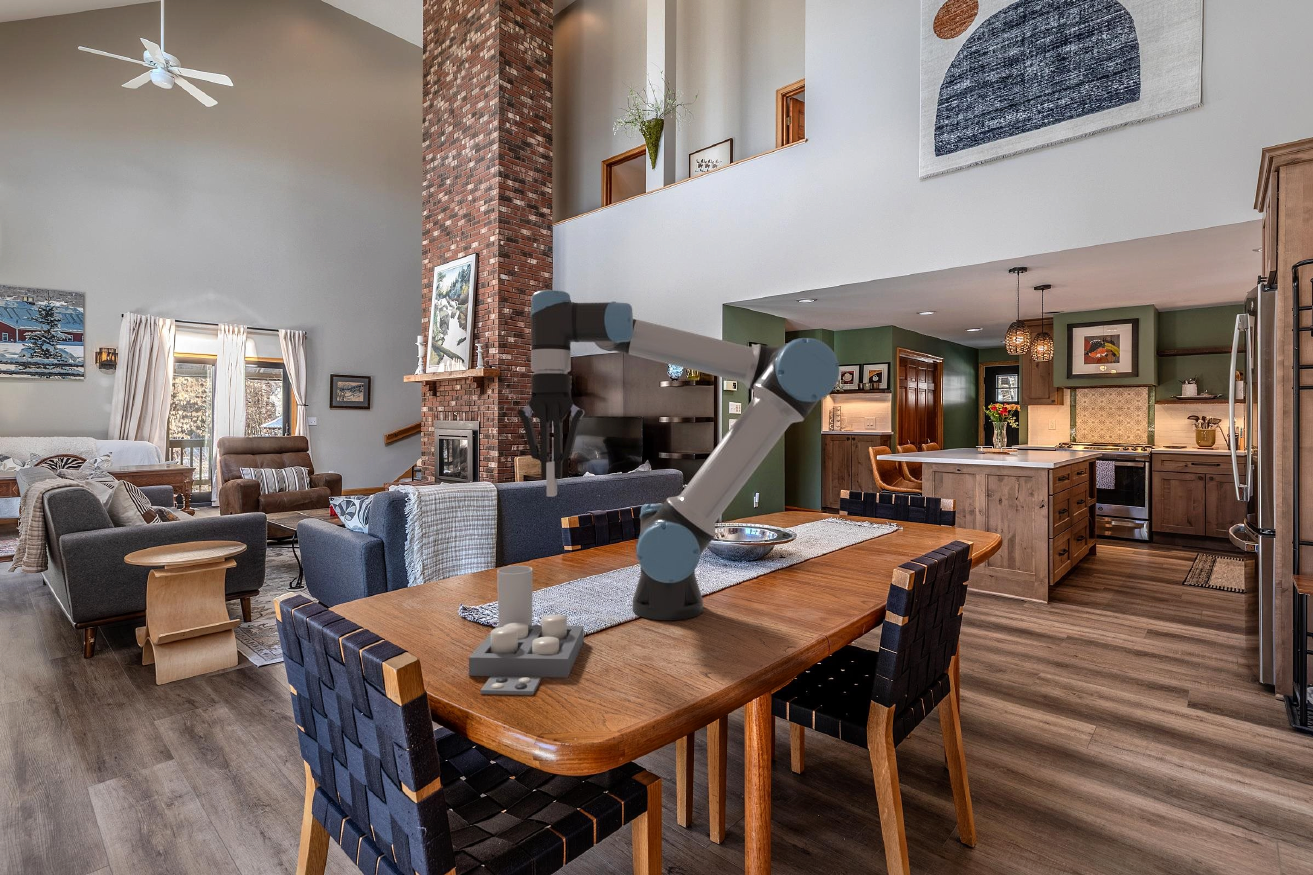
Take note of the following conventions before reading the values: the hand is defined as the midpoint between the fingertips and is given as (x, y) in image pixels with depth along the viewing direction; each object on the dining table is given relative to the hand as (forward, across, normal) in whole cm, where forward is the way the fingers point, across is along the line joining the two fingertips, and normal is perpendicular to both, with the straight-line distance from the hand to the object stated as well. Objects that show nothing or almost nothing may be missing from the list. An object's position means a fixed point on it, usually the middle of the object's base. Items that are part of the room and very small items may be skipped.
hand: (551, 495), depth 123 cm
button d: (+24, +5, +17) cm, 30 cm away
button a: (+24, -3, +11) cm, 27 cm away
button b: (+26, +4, +11) cm, 28 cm away
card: (+26, +1, +26) cm, 37 cm away
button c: (+26, -3, +18) cm, 31 cm away
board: (+26, +1, +14) cm, 30 cm away
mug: (+27, +8, -1) cm, 28 cm away
